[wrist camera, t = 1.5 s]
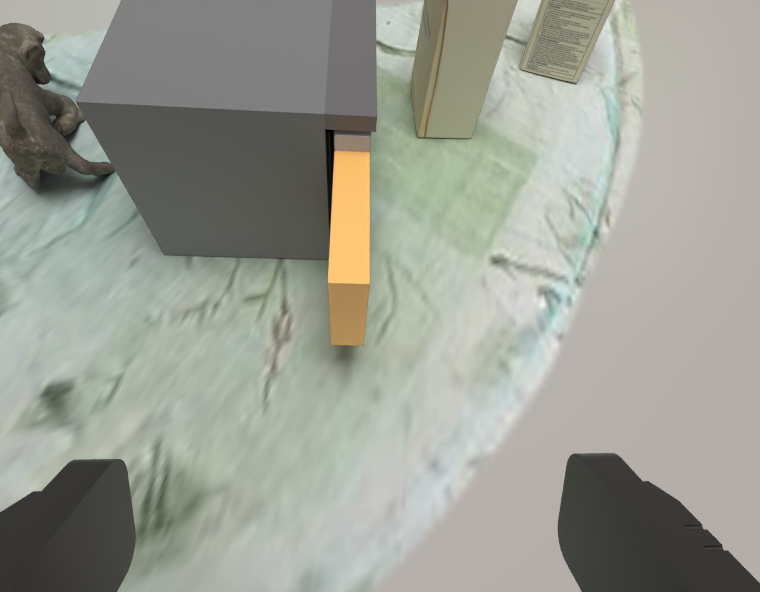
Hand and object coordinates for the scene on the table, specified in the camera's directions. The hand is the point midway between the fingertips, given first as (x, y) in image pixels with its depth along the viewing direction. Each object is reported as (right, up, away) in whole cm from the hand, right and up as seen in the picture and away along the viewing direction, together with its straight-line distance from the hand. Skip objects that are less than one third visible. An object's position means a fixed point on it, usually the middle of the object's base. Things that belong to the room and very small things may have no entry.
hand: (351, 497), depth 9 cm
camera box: (-7, +13, +24) cm, 28 cm away
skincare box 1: (+5, +18, +28) cm, 34 cm away
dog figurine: (-22, +14, +24) cm, 35 cm away
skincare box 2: (+15, +24, +32) cm, 43 cm away
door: (-1, +8, +21) cm, 22 cm away
